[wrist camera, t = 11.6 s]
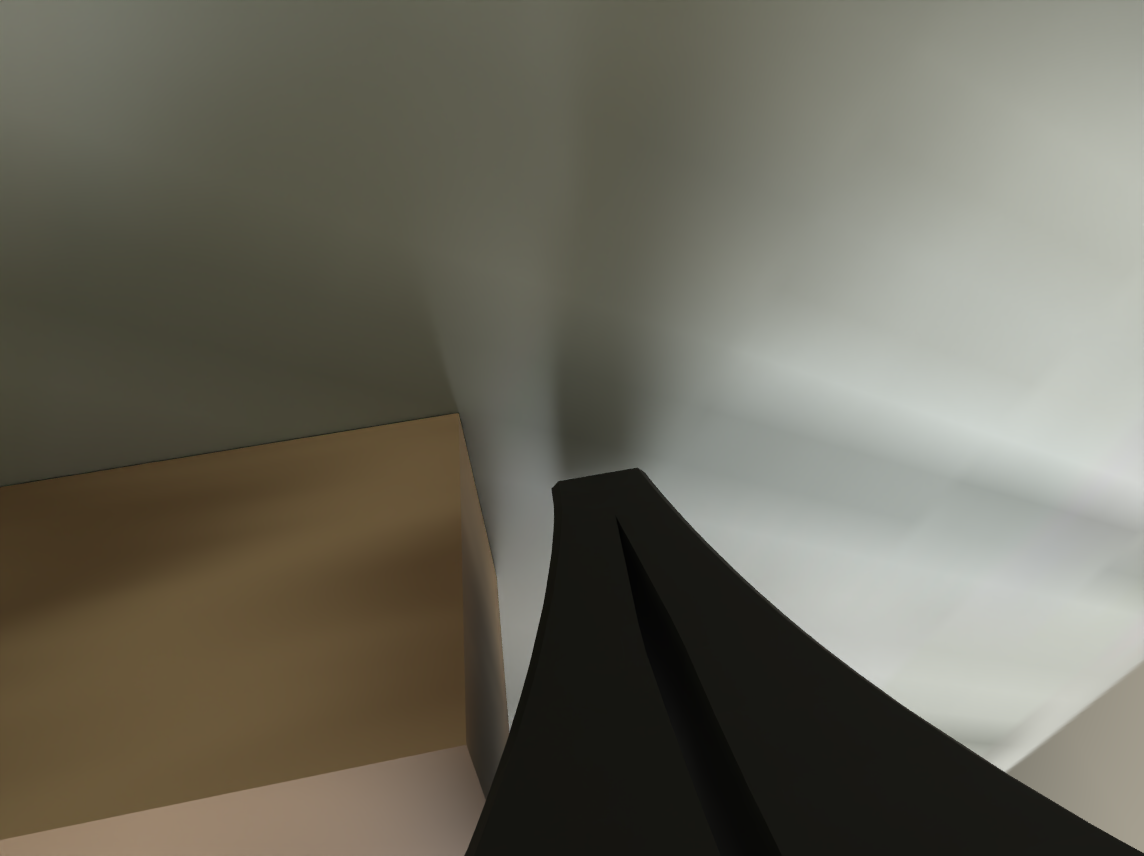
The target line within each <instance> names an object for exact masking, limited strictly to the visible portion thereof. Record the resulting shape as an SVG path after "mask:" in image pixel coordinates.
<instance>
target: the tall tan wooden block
mask: <svg viewBox="0 0 1144 856" xmlns="http://www.w3.org/2000/svg"><path fill="white" fill-rule="evenodd" d="M508 736H509V723H508V711H507V699H506V687H505V674H504V662H503V650H502V638H501V626H500V613H499V601H498V589H497V577H496V572H495V568H494V564H493V559H492V555H491V551H490V546H489V542H488V538H487V533H486V529H485V525H484V520H483V516H482V512H481V507H480V503H479V499H478V494H477V490H476V486H475V481H474V477H473V473H472V468H471V464H470V460H469V455H468V451H467V447H466V443H465V438H464V434H463V430H462V425H461V421H460V417H459V413H456V414H449V415H443V416H437V417H431V418H425V419H418V420H412V421H406V422H400V423H394V424H388V425H381V426H375V427H369V428H363V429H357V430H351V431H344V432H338V433H332V434H326V435H320V436H314V437H307V438H301V439H295V440H289V441H283V442H276V443H270V444H264V445H258V446H252V447H246V448H239V449H233V450H227V451H221V452H215V453H209V454H202V455H196V456H190V457H184V458H178V459H171V460H165V461H159V462H153V463H147V464H141V465H134V466H128V467H122V468H116V469H110V470H104V471H97V472H91V473H85V474H79V475H73V476H66V477H60V478H54V479H48V480H42V481H36V482H29V483H23V484H17V485H11V486H5V487H0V856H464V855H465V853H466V851H467V848H468V846H469V843H470V841H471V838H472V836H473V833H474V831H475V828H476V825H477V823H478V820H479V817H480V815H481V812H482V810H483V807H484V804H485V802H486V799H487V796H488V793H489V790H490V788H491V785H492V782H493V779H494V776H495V773H496V770H497V768H498V765H499V762H500V759H501V756H502V753H503V751H504V748H505V745H506V742H507V739H508Z"/></svg>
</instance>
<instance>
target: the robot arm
mask: <svg viewBox="0 0 1144 856" xmlns="http://www.w3.org/2000/svg"><path fill="white" fill-rule="evenodd" d="M552 496H553V503H554V532H553V543H552V554H551V561H550V567H549V574H548V580H547V587H546V593H545V599H544V604H543V609H542V613H541V618H540V622H539V626H538V631H537V635H536V639H535V644H534V648H533V653H532V657H531V661H530V665H529V668H528V672H527V676H526V679H525V683H524V687H523V690H522V693H521V697H520V700H519V704H518V707H517V710H516V713H515V717H514V720H513V723H512V726H511V729H510V733H509V736H508V739H507V742H506V745H505V748H504V751H503V753H502V756H501V759H500V762H499V765H498V768H497V770H496V773H495V776H494V779H493V782H492V785H491V788H490V790H489V793H488V796H487V799H486V802H485V804H484V807H483V810H482V812H481V815H480V817H479V820H478V823H477V825H476V828H475V831H474V833H473V836H472V838H471V841H470V843H469V846H468V848H467V851H466V853H465V855H464V856H1144V853H1142V852H1140V851H1139V850H1137V849H1135V848H1133V847H1131V846H1129V845H1128V844H1126V843H1124V842H1122V841H1120V840H1118V839H1117V838H1115V837H1113V836H1111V835H1109V834H1108V833H1106V832H1104V831H1102V830H1101V829H1099V828H1097V827H1095V826H1094V825H1092V824H1090V823H1088V822H1086V821H1085V820H1083V819H1082V818H1080V817H1078V816H1077V815H1075V814H1073V813H1072V812H1070V811H1068V810H1067V809H1065V808H1063V807H1062V806H1060V805H1058V804H1056V803H1055V802H1053V801H1052V800H1050V799H1048V798H1047V797H1045V796H1043V795H1042V794H1040V793H1038V792H1036V791H1035V790H1033V789H1031V788H1030V787H1028V786H1026V785H1025V784H1023V783H1021V782H1020V781H1018V780H1016V779H1015V778H1013V777H1011V776H1010V775H1008V774H1007V773H1005V772H1004V771H1002V770H1000V769H999V768H997V767H996V766H994V765H993V764H991V763H990V762H988V761H987V760H985V759H984V758H982V757H981V756H979V755H977V754H976V753H974V752H973V751H971V750H970V749H968V748H967V747H965V746H964V745H962V744H961V743H959V742H958V741H956V740H954V739H953V738H951V737H950V736H948V735H947V734H945V733H944V732H942V731H941V730H939V729H938V728H936V727H935V726H933V725H931V724H930V723H928V722H927V721H925V720H924V719H922V718H921V717H919V716H918V715H916V714H915V713H913V712H912V711H910V710H909V709H907V708H906V707H904V706H903V705H901V704H900V703H899V702H897V701H896V700H894V699H893V698H892V697H890V696H889V695H887V694H886V693H885V692H883V691H882V690H881V689H879V688H878V687H876V686H875V685H874V684H872V683H871V682H869V681H868V680H867V679H865V678H864V677H863V676H861V675H860V674H858V673H857V672H856V671H854V670H853V669H852V668H850V667H849V666H848V665H847V664H845V663H844V662H843V661H841V660H840V659H839V658H837V657H836V656H835V655H834V654H832V653H831V652H830V651H828V650H827V649H826V648H824V647H823V646H822V645H821V644H819V643H818V642H817V641H816V640H814V639H813V638H812V637H811V636H809V635H808V634H807V633H806V632H804V631H803V630H802V629H801V628H800V627H798V626H797V625H796V624H795V623H794V622H793V621H791V620H790V619H789V618H788V617H787V616H785V615H784V614H783V613H782V612H781V611H780V610H779V609H777V608H776V607H775V606H774V605H773V604H772V603H771V602H769V601H768V600H767V599H766V598H765V597H764V596H763V595H761V594H760V593H759V592H758V591H757V590H756V589H755V588H754V587H753V586H752V585H750V584H749V583H748V582H747V581H746V580H745V579H744V578H743V577H742V576H741V575H740V574H739V573H738V572H736V571H735V570H734V569H733V568H732V567H731V566H730V565H729V564H728V563H727V562H726V561H725V560H724V559H723V558H722V557H721V556H720V555H719V554H718V553H717V552H716V551H715V550H714V549H713V548H712V547H711V546H710V545H709V544H708V543H707V542H706V541H705V540H704V539H703V538H702V537H701V536H700V535H699V534H698V533H697V532H696V531H695V530H694V529H693V528H692V526H691V525H690V524H689V523H688V522H687V521H686V520H685V519H684V518H683V517H682V516H681V515H680V513H679V512H678V511H677V510H676V509H675V508H674V507H673V506H672V505H671V503H670V502H669V501H668V500H667V499H666V498H665V497H664V495H663V494H662V493H661V492H660V491H659V490H658V488H657V487H656V486H655V485H654V484H653V482H652V481H651V480H650V479H649V477H648V476H647V475H646V474H645V473H644V472H643V471H642V470H640V469H639V468H633V469H627V470H621V471H615V472H610V473H604V474H598V475H592V476H587V477H581V478H575V479H569V480H563V481H558V482H557V483H556V485H555V486H554V487H553V488H552Z"/></svg>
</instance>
